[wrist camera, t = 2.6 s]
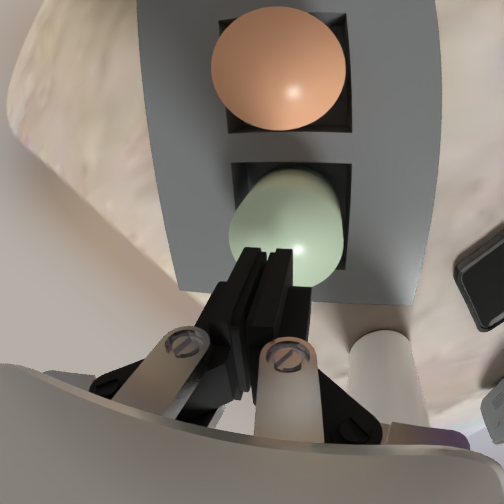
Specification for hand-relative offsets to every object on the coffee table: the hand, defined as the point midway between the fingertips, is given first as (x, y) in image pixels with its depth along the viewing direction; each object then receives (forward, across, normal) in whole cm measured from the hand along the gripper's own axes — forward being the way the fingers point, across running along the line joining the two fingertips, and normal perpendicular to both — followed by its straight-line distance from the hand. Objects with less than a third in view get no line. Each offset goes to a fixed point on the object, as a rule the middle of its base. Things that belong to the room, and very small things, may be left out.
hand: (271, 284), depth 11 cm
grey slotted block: (+9, 0, -8) cm, 12 cm away
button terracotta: (+6, 0, -8) cm, 10 cm away
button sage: (+6, 0, -1) cm, 6 cm away
